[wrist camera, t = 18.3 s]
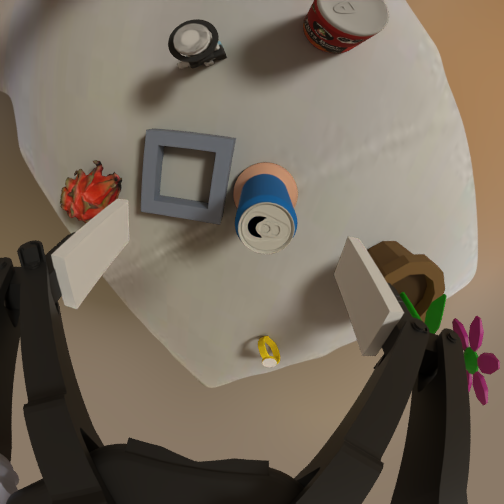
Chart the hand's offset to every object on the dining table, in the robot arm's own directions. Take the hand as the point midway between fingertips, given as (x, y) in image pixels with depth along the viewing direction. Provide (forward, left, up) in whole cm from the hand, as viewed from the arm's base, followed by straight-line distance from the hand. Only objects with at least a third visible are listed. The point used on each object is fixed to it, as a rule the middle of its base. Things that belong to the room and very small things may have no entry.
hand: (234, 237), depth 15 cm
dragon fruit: (+7, -23, -24) cm, 34 cm away
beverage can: (+4, +3, -23) cm, 23 cm away
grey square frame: (+3, -8, -24) cm, 25 cm away
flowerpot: (+12, +26, -24) cm, 37 cm away
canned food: (-22, +7, -24) cm, 33 cm away
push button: (-14, -9, -24) cm, 29 cm away
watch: (+33, +10, -24) cm, 42 cm away
